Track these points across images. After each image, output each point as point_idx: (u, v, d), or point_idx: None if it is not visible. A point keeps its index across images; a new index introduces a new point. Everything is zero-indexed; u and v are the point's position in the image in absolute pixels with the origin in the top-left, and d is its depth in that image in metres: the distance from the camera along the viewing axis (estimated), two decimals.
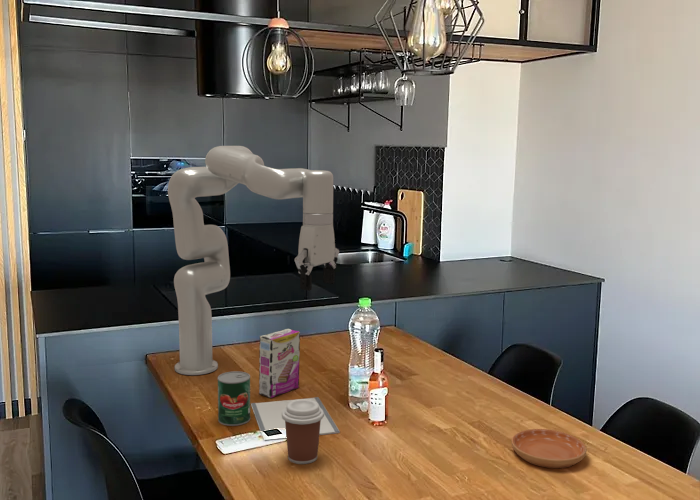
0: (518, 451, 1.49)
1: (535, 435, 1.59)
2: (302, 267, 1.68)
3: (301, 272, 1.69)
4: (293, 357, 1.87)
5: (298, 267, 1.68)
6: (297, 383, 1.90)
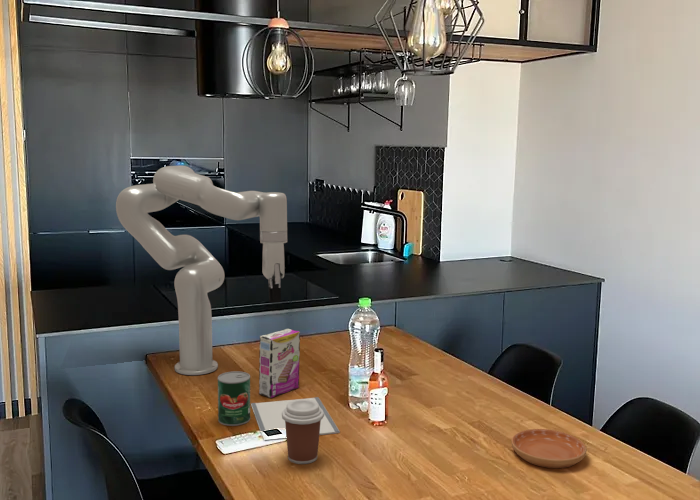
0: (518, 451, 1.49)
1: (535, 436, 1.59)
2: None
3: (275, 286, 1.91)
4: (293, 357, 1.87)
5: (275, 284, 1.90)
6: (297, 383, 1.90)
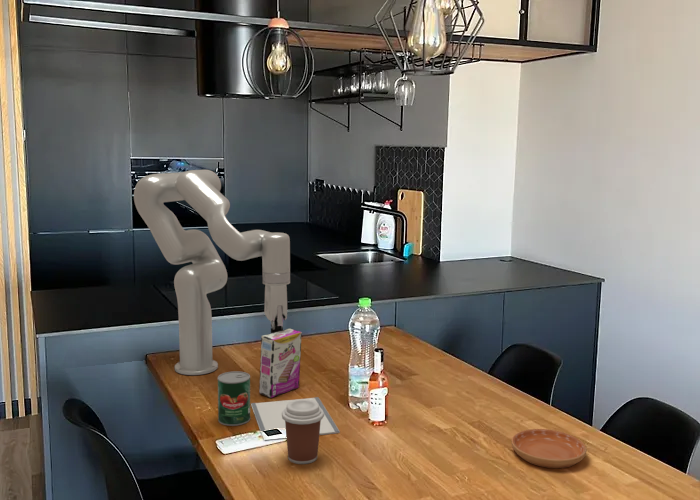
0: (518, 451, 1.49)
1: (535, 436, 1.59)
2: (281, 323, 1.87)
3: (277, 328, 1.88)
4: (294, 357, 1.87)
5: (278, 325, 1.87)
6: (297, 383, 1.90)
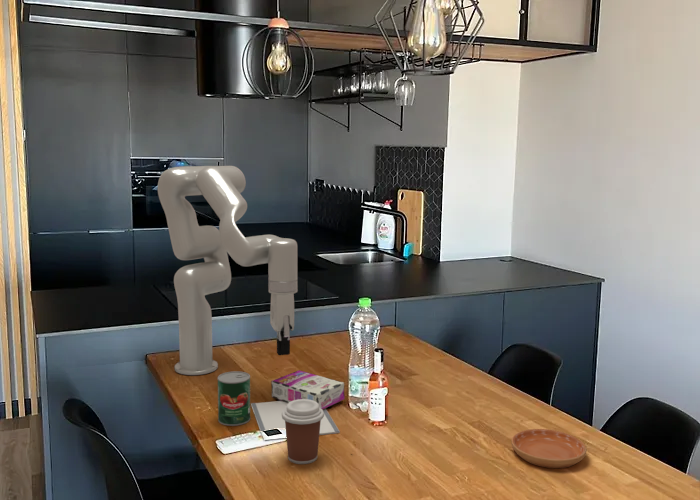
0: (518, 451, 1.49)
1: (535, 436, 1.59)
2: None
3: (283, 339, 1.78)
4: None
5: (285, 336, 1.77)
6: None
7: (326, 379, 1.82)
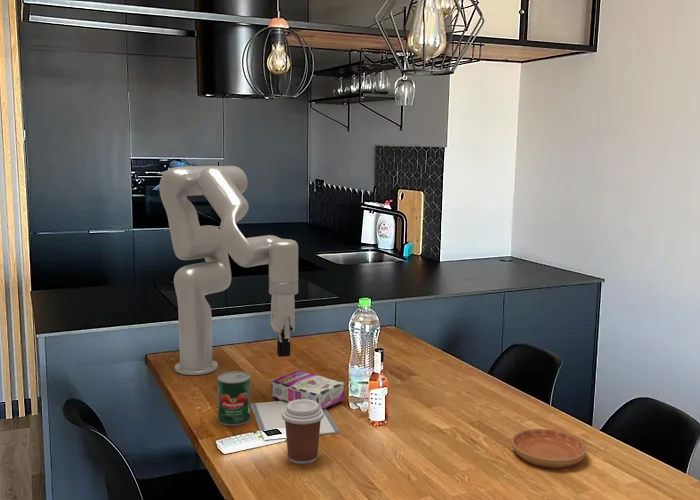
0: (518, 451, 1.49)
1: (535, 436, 1.59)
2: None
3: (284, 340, 1.78)
4: None
5: None
6: None
7: (326, 379, 1.82)
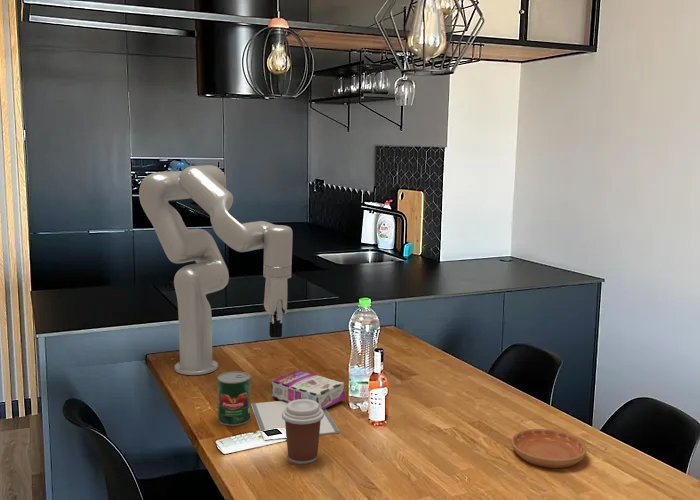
0: (518, 451, 1.49)
1: (535, 436, 1.59)
2: None
3: (276, 322, 1.85)
4: None
5: (277, 320, 1.84)
6: None
7: (326, 379, 1.82)
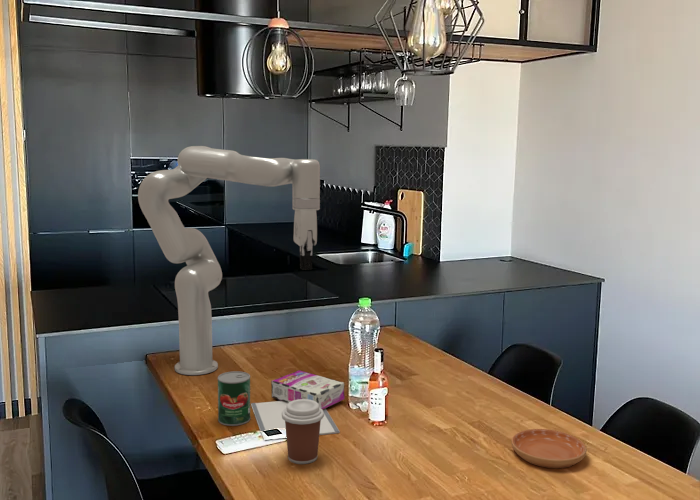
0: (518, 451, 1.49)
1: (535, 435, 1.59)
2: None
3: (306, 254, 1.90)
4: None
5: (308, 251, 1.89)
6: None
7: (326, 379, 1.82)
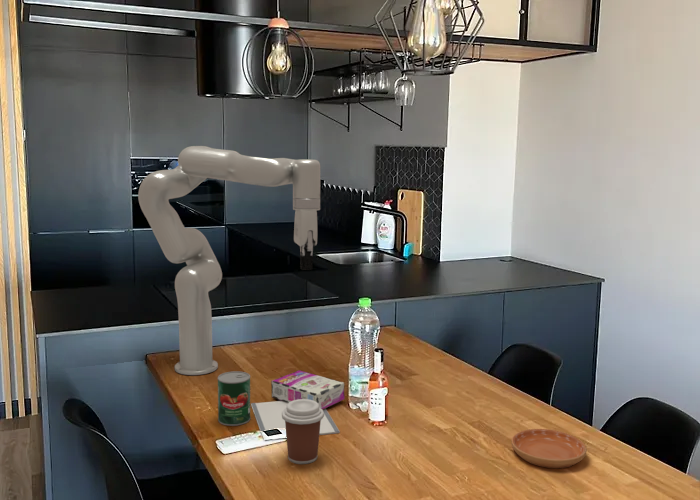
0: (518, 451, 1.49)
1: (535, 435, 1.59)
2: None
3: (307, 254, 1.90)
4: None
5: (308, 251, 1.89)
6: None
7: (326, 379, 1.82)
